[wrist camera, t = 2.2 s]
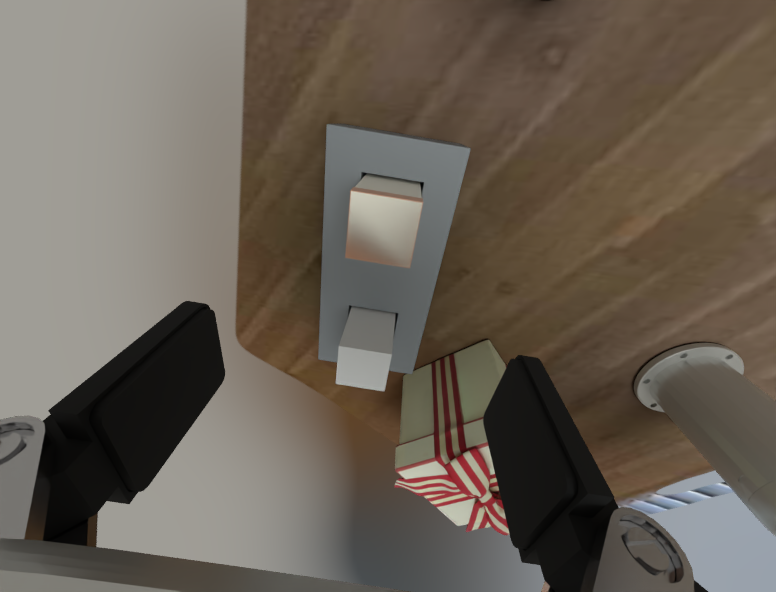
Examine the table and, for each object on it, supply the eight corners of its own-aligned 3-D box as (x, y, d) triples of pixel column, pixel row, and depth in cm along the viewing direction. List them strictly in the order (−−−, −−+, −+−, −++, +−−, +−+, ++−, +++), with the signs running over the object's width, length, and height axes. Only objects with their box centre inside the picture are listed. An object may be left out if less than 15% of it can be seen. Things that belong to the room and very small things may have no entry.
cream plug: (410, 223, 34) (409, 268, 23) (366, 215, 34) (345, 257, 23) (419, 175, 31) (423, 202, 21) (371, 167, 31) (350, 190, 21)
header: (412, 344, 43) (412, 419, 32) (329, 330, 43) (301, 401, 32) (460, 143, 30) (487, 156, 19) (341, 123, 30) (300, 124, 19)
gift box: (380, 385, 48) (366, 504, 33) (482, 329, 41) (522, 447, 26) (442, 440, 54) (453, 562, 39) (540, 400, 47) (599, 528, 32)
